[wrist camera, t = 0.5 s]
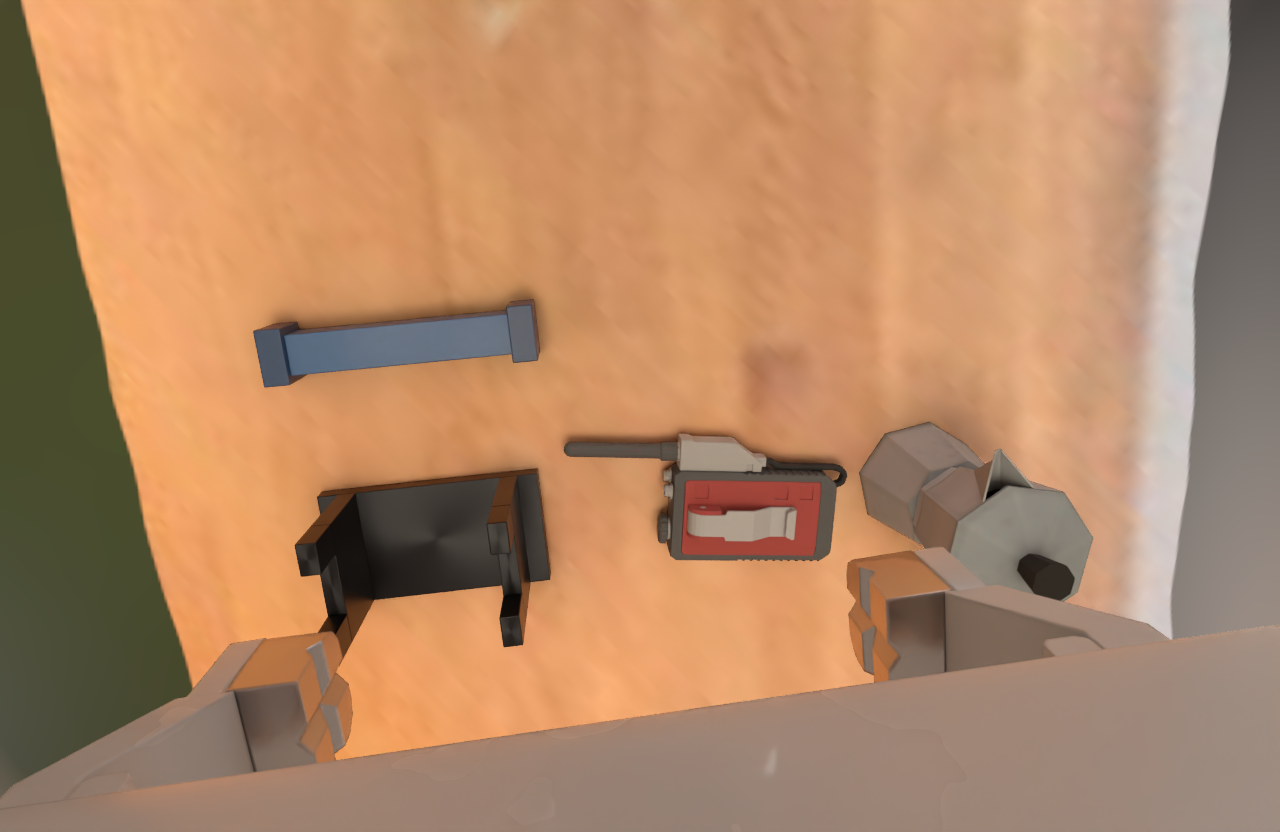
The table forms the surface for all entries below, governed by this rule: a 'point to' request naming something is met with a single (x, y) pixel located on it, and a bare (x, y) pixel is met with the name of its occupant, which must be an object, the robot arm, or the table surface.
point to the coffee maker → (977, 511)
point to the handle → (396, 343)
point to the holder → (428, 545)
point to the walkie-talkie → (735, 499)
